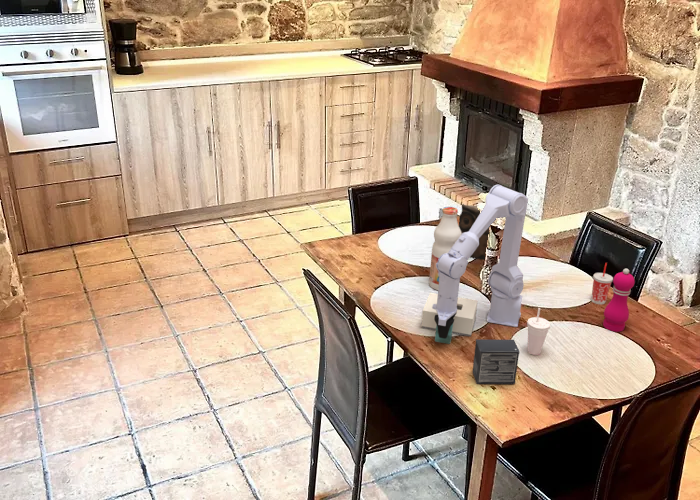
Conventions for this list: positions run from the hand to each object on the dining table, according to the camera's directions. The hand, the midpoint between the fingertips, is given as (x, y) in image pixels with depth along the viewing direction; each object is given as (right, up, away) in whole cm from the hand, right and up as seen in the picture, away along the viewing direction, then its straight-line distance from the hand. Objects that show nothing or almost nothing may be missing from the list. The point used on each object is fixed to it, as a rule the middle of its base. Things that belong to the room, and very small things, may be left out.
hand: (443, 334), depth 198 cm
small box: (+11, -10, -15) cm, 21 cm away
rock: (+21, +24, +58) cm, 66 cm away
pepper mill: (+54, +1, +12) cm, 56 cm away
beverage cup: (+55, +8, +27) cm, 62 cm away
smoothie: (+26, -5, -3) cm, 26 cm away
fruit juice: (+4, +13, +33) cm, 36 cm away
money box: (+3, +3, +10) cm, 11 cm away
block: (0, -2, +1) cm, 2 cm away
